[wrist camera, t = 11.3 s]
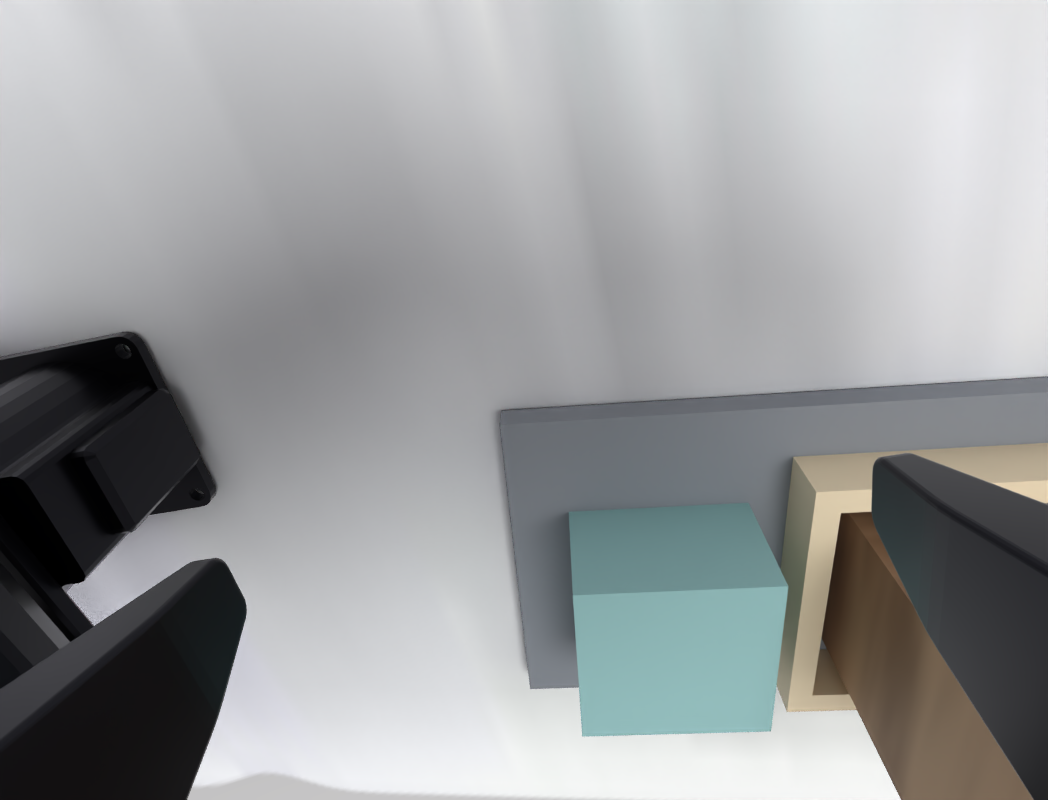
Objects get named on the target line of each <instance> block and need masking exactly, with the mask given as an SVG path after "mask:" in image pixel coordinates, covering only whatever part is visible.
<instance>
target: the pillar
mask: <svg viewBox="0 0 1048 800" xmlns="http://www.w3.org/2000/svg"><path fill="white" fill-rule="evenodd" d="M1045 504H1047V503H1045ZM821 638H822V640H823V642H824V644H825V646H826V648H827V650H828V652H829V654H830V656H831V658H832V660H833V662H834V664H835V666H836V668H837V670H838V672H839V674H840V676H841V679H842V681H843V683H844V685H845V687H846V689H847V691H848V693H849V695H850V697H851V699H852V701H853V703H854V705H855V707H856V709H857V711H858V713H859V715H860V717H861V719H862V721H863V723H864V725H865V727H866V729H867V731H868V733H869V735H870V737H871V739H872V741H873V743H874V745H875V747H876V750H877V752H878V754H879V756H880V758H881V760H882V762H883V764H884V766H885V768H886V770H887V772H888V774H889V776H890V778H891V780H892V782H893V784H894V786H895V788H896V790H897V792H898V794H899V796H900V798H901V800H1033V798H1032V797H1031V795H1030V794H1029V792H1028V790H1027V789H1026V787H1025V786H1024V784H1023V783H1022V781H1021V780H1020V778H1019V776H1018V775H1017V773H1016V772H1015V770H1014V769H1013V767H1012V765H1011V764H1010V762H1009V761H1008V759H1007V758H1006V756H1005V755H1004V753H1003V751H1002V750H1001V748H1000V747H999V745H998V744H997V742H996V740H995V739H994V737H993V736H992V734H991V733H990V731H989V729H988V728H987V726H986V725H985V723H984V722H983V720H982V719H981V717H980V715H979V714H978V712H977V711H976V709H975V708H974V706H973V704H972V703H971V701H970V700H969V698H968V697H967V695H966V694H965V692H964V690H963V689H962V687H961V686H960V684H959V683H958V681H957V679H956V678H955V676H954V675H953V673H952V672H951V670H950V669H949V667H948V665H947V664H946V662H945V661H944V659H943V658H942V656H941V654H940V653H939V651H938V650H937V648H936V646H935V645H934V643H933V641H932V640H931V638H930V636H929V635H928V633H927V631H926V630H925V628H924V626H923V624H922V622H921V620H920V618H919V616H918V614H917V612H916V610H915V608H914V606H913V604H912V602H911V600H910V598H909V596H908V594H907V592H906V590H905V588H904V586H903V584H902V582H901V579H900V577H899V575H898V573H897V571H896V569H895V567H894V565H893V563H892V561H891V559H890V557H889V555H888V553H887V551H886V549H885V547H884V545H883V543H882V541H881V539H880V537H879V535H878V532H877V530H876V528H875V525H874V522H873V518H872V512H855V513H841V516H840V522H839V529H838V535H837V542H836V548H835V554H834V561H833V567H832V573H831V580H830V586H829V593H828V599H827V605H826V612H825V618H824V625H823V631H822V637H821Z"/></svg>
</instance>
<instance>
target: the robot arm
mask: <svg viewBox="0 0 1048 800" xmlns="http://www.w3.org/2000/svg"><path fill="white" fill-rule="evenodd" d="M122 344H124V345H126V346H128V347H129V348H130V350H131V353H132V354H130V353H128V352H126V351H125V350H124V349H123V345H122ZM196 489H199V490H201V491H202V492H203V493H204V494H201V493H199V492H197V491H196ZM215 494H216V487H215V485H214V483H213V481H212V479H211V477H210V475H209V473H208V471H207V469H206V467H205V465H204V463H203V461H202V458H201V456H200V453H199V451H198V449H197V447H196V445H195V443H194V441H193V439H192V437H191V435H190V433H189V431H188V428H187V426H186V424H185V422H184V420H183V418H182V416H181V414H180V412H179V410H178V408H177V406H176V404H175V402H174V400H173V398H172V396H171V394H170V393H169V392H168V390H167V388H166V386H165V384H164V382H163V380H162V378H161V376H160V374H159V372H158V370H157V368H156V366H155V364H154V362H153V360H152V358H151V355H150V353H149V351H148V349H147V347H146V345H145V344H144V342H143V341H142V339H141V338H140V337H138V336H137V335H136V334H133V333H130V332H122V333H117V334H112V335H107V336H102V337H97V338H92V339H87V340H82V341H77V342H73V343H68V344H63V345H58V346H53V347H48V348H43V349H38V350H33V351H28V352H23V353H18V354H13V355H8V356H3V357H0V800H187V798H188V796H189V793H190V791H191V788H192V785H193V783H194V780H195V777H196V775H197V772H198V770H199V767H200V764H201V762H202V759H203V757H204V754H205V751H206V749H207V746H208V743H209V741H210V738H211V736H212V733H213V730H214V727H215V724H216V722H217V719H218V716H219V712H220V709H221V706H222V702H223V699H224V696H225V692H226V688H227V685H228V681H229V677H230V674H231V670H232V666H233V663H234V659H235V656H236V652H237V648H238V645H239V641H240V637H241V634H242V630H243V626H244V623H245V619H246V612H247V609H246V602H245V599H244V597H243V595H242V593H241V591H240V589H239V587H238V585H237V583H236V581H235V579H234V577H233V575H232V573H231V572H230V570H229V568H228V566H227V564H226V563H225V562H224V561H223V560H221V559H219V558H212V559H205V560H198V561H193V562H190V563H189V564H187V565H185V566H184V567H182V568H181V569H179V570H178V571H176V572H175V573H173V574H172V575H170V576H169V577H167V578H166V579H164V580H163V581H161V582H160V583H158V584H157V585H155V586H154V587H152V588H151V589H149V590H148V591H146V592H145V593H143V594H142V595H140V596H139V597H137V598H136V599H134V600H133V601H131V602H130V603H128V604H127V605H125V606H124V607H122V608H121V609H119V610H118V611H116V612H115V613H113V614H112V615H110V616H109V617H107V618H106V619H104V620H103V621H101V622H100V623H98V624H97V625H95V626H94V625H93V624H92V623H91V621H90V620H89V619H88V618H87V617H86V616H85V614H84V613H83V612H82V611H81V610H80V608H79V607H78V606H77V605H76V604H75V602H74V601H73V600H72V599H71V598H70V596H69V595H68V594H67V593H66V592H67V590H68V589H69V588H70V587H71V586H72V585H73V584H75V583H80V582H83V581H84V580H85V579H86V578H87V577H88V576H89V575H90V574H91V573H92V572H93V571H94V570H95V569H96V567H97V566H98V565H99V564H100V563H101V562H102V561H103V560H104V559H105V558H106V557H107V556H108V555H109V553H110V552H111V551H112V550H113V549H114V548H115V547H116V546H117V545H118V544H119V543H120V542H121V541H122V539H123V538H124V537H125V536H126V535H127V534H128V533H129V532H133V531H134V530H136V529H137V527H138V526H139V525H140V524H141V523H142V522H143V521H144V520H145V519H146V518H147V517H148V516H149V515H152V514H158V513H165V512H171V511H177V510H183V509H189V508H195V507H201V506H205V505H207V504H208V503H209V502H210V501H211V500H212V498H213V497H214V496H215ZM871 512H872V518H873V522H874V525H875V528H876V530H877V532H878V535H879V537H880V539H881V541H882V543H883V545H884V547H885V549H886V551H887V553H888V555H889V557H890V559H891V561H892V563H893V565H894V567H895V569H896V571H897V573H898V575H899V577H900V579H901V582H902V584H903V586H904V588H905V590H906V592H907V594H908V596H909V598H910V600H911V602H912V604H913V606H914V608H915V610H916V612H917V614H918V616H919V618H920V620H921V622H922V624H923V626H924V628H925V630H926V631H927V633H928V635H929V636H930V638H931V640H932V641H933V643H934V645H935V646H936V648H937V650H938V651H939V653H940V654H941V656H942V658H943V659H944V661H945V662H946V664H947V665H948V667H949V669H950V670H951V672H952V673H953V675H954V676H955V678H956V679H957V681H958V683H959V684H960V686H961V687H962V689H963V690H964V692H965V694H966V695H967V697H968V698H969V700H970V701H971V703H972V704H973V706H974V708H975V709H976V711H977V712H978V714H979V715H980V717H981V719H982V720H983V722H984V723H985V725H986V726H987V728H988V729H989V731H990V733H991V734H992V736H993V737H994V739H995V740H996V742H997V744H998V745H999V747H1000V748H1001V750H1002V751H1003V753H1004V755H1005V756H1006V758H1007V759H1008V761H1009V762H1010V764H1011V765H1012V767H1013V769H1014V770H1015V772H1016V773H1017V775H1018V776H1019V778H1020V780H1021V781H1022V783H1023V784H1024V786H1025V787H1026V789H1027V790H1028V792H1029V794H1030V795H1031V797H1032V798H1033V800H1048V504H1045V503H1043V502H1040V501H1037V500H1035V499H1032V498H1029V497H1027V496H1024V495H1021V494H1019V493H1016V492H1013V491H1011V490H1008V489H1005V488H1003V487H1000V486H998V485H995V484H992V483H990V482H987V481H984V480H982V479H979V478H976V477H974V476H971V475H968V474H966V473H963V472H960V471H958V470H955V469H952V468H950V467H947V466H944V465H942V464H939V463H936V462H934V461H931V460H929V459H926V458H923V457H921V456H918V455H915V454H912V453H903V454H896V455H890V456H883V457H879V458H878V459H877V460H876V461H875V462H874V465H873V471H872V505H871Z"/></svg>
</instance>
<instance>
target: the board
mask: <svg viewBox="0 0 1048 800" xmlns="http://www.w3.org/2000/svg"><path fill="white" fill-rule="evenodd" d="M500 431H501V440H502V448H503V457H504V466H505V474H506V483H507V492H508V500H509V509H510V518H511V526H512V535H513V544H514V552H515V561H516V570H517V578H518V587H519V596H520V604H521V613H522V622H523V630H524V639H525V648H526V656H527V665H528V674H529V682H530V689H543V688H574V687H579V694H580V709H581V723H582V736H617V735H653V734H690V733H726V732H763V731H771V726H772V718H773V710H774V702H775V693H776V685H777V687H778V690H779V692H780V695H781V698H782V700H783V703H784V706H785V708H786V711H787V712H800V711H834V710H857V709H856V707H855V705H854V703H853V701H852V699H851V697H850V695H849V693H848V691H847V689H846V687H845V685H844V683H843V681H842V679H841V676H840V674H839V672H838V670H837V668H836V666H835V664H834V662H833V660H832V658H831V656H830V654H829V652H828V650H827V648H826V646H825V644H824V642H823V640H822V638H821V637H822V631H823V625H824V618H825V612H826V605H827V599H828V593H829V586H830V580H831V573H832V567H833V561H834V554H835V548H836V542H837V535H838V529H839V522H840V516H841V513H855V512H871V505H872V471H873V465H874V462H875V461H876V460H877V459H878V458H879V457H883V456H890V455H896V454H903V453H912V454H915V455H918V456H921V457H923V458H926V459H929V460H931V461H934V462H936V463H939V464H942V465H944V466H947V467H950V468H952V469H955V470H958V471H960V472H963V473H966V474H968V475H971V476H974V477H976V478H979V479H982V480H984V481H987V482H990V483H992V484H995V485H998V486H1000V487H1003V488H1005V489H1008V490H1011V491H1013V492H1016V493H1019V494H1021V495H1024V496H1027V497H1029V498H1032V499H1035V500H1037V501H1040V502H1043V503H1047V504H1048V377H1039V378H1023V379H1007V380H991V381H974V382H958V383H942V384H925V385H909V386H893V387H877V388H860V389H844V390H828V391H811V392H795V393H779V394H763V395H746V396H730V397H714V398H698V399H681V400H665V401H649V402H632V403H616V404H600V405H584V406H567V407H551V408H535V409H518V410H502V413H501V420H500Z"/></svg>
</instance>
